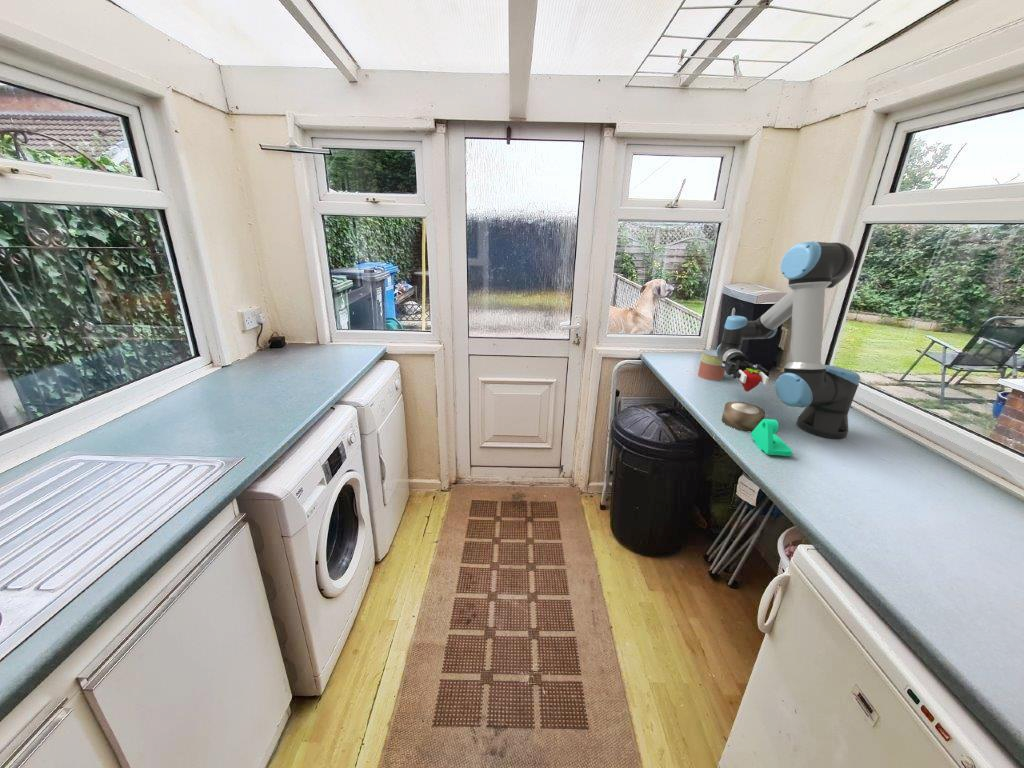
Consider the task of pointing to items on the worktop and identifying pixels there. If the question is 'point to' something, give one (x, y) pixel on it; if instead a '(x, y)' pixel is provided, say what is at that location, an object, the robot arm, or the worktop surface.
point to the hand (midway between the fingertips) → (755, 380)
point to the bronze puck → (742, 415)
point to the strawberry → (751, 379)
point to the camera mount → (769, 438)
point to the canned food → (711, 366)
